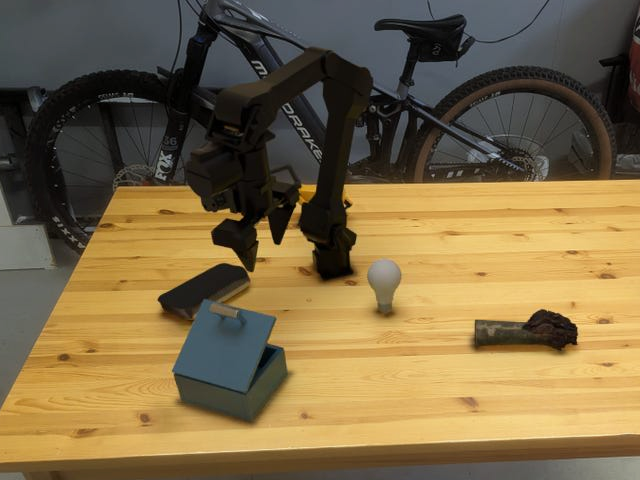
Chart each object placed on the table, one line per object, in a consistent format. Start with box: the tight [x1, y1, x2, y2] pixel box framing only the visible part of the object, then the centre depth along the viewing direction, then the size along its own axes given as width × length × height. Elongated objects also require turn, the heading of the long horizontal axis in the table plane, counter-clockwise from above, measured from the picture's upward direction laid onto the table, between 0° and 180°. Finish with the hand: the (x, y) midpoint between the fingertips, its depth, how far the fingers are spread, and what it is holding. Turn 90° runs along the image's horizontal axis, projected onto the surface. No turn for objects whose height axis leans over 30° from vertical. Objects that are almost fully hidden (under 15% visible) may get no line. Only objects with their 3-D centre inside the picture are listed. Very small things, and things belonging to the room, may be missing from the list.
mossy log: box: [473, 308, 579, 352], centre depth 115 cm, size 18×7×6 cm, turn 87°
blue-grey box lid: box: [171, 299, 278, 393], centre depth 99 cm, size 12×13×5 cm
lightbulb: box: [366, 258, 402, 314], centre depth 119 cm, size 6×6×11 cm
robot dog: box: [269, 163, 354, 227], centre depth 143 cm, size 6×18×13 cm, turn 84°
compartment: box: [173, 342, 289, 423], centre depth 105 cm, size 12×13×6 cm
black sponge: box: [157, 262, 251, 321], centre depth 124 cm, size 16×8×4 cm, turn 143°
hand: (264, 257), depth 114 cm, fingers open, 9 cm apart
